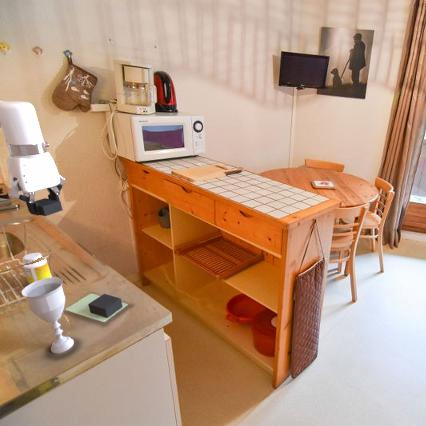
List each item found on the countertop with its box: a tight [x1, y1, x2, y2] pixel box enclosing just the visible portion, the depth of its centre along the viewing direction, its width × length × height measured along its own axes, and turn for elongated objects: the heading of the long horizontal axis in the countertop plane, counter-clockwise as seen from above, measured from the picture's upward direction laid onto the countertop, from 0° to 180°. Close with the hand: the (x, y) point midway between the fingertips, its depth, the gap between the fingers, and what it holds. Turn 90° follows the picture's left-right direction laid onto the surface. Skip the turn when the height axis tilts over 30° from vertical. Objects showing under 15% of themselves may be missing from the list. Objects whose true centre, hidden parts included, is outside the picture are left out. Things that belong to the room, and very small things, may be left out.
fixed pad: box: [88, 293, 123, 318], centre depth 89 cm, size 6×5×3 cm
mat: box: [64, 292, 129, 323], centre depth 90 cm, size 14×8×1 cm, turn 73°
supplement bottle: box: [22, 252, 53, 285], centre depth 97 cm, size 6×6×10 cm
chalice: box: [21, 276, 75, 354], centre depth 74 cm, size 7×7×18 cm
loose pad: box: [35, 197, 64, 217], centre depth 93 cm, size 6×5×3 cm
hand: (46, 210), depth 93 cm, fingers closed on loose pad, 5 cm apart
